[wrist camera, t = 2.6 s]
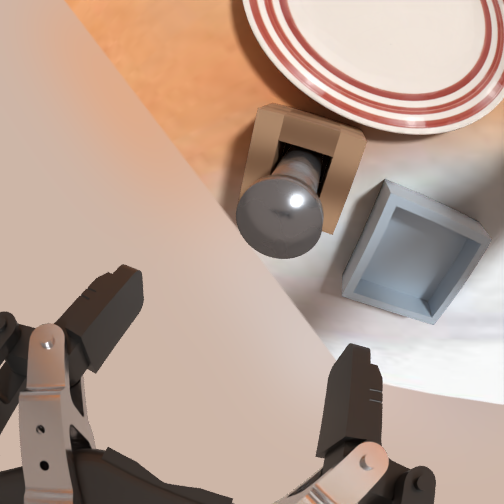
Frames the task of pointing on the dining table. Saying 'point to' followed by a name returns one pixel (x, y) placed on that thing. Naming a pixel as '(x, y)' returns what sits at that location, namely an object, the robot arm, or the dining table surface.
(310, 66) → the dinner plate
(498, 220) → the dining table surface
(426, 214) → the tray
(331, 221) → the block
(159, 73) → the dining table surface
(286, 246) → the pin
